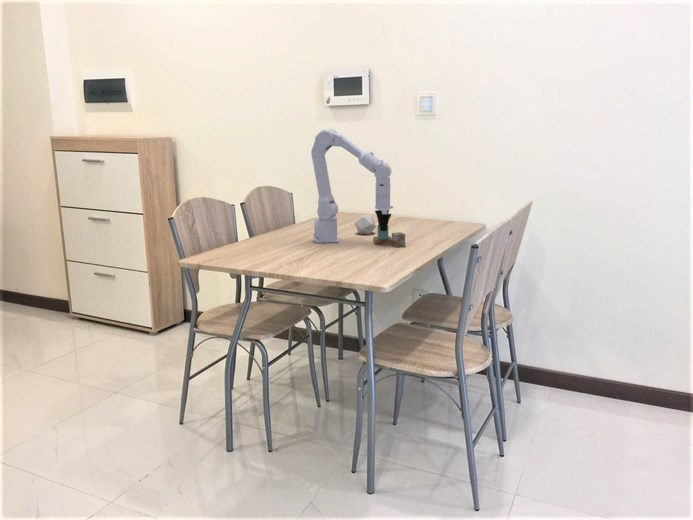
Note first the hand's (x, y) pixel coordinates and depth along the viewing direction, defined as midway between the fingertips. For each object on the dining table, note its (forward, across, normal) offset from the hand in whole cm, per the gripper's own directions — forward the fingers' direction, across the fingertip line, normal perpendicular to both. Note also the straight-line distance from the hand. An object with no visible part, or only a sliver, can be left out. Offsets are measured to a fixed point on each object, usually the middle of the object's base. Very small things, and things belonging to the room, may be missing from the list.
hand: (382, 229), depth 230 cm
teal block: (+3, 0, 0) cm, 4 cm away
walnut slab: (+6, 0, 0) cm, 6 cm away
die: (+6, +20, +6) cm, 21 cm away
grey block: (+6, -6, -6) cm, 10 cm away
